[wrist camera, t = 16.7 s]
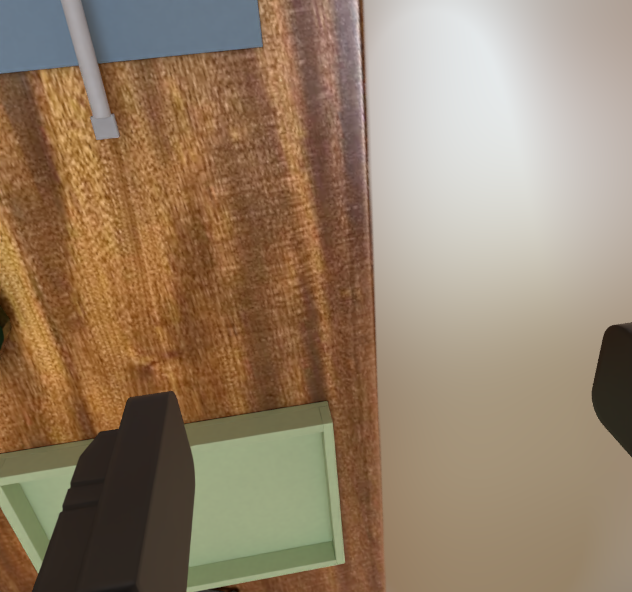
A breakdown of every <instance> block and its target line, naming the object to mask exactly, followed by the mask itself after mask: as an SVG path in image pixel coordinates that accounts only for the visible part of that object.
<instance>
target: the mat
mask: <svg viewBox="0 0 632 592" xmlns="http://www.w3.org/2000/svg"><path fill="white" fill-rule="evenodd" d="M81 2H82V6H83V10H84V13H85V17H86V21H87V25H88V29H89V32H90V36H91V40H92V44H93V48H94V51H95V55H96V59H97V63H98V64H99V63H109V62H119V61H129V60H139V59H148V58H158V57H168V56H178V55H188V54H197V53H207V52H217V51H227V50H237V49H247V48H256V47H263V43H262V34H261V26H260V18H259V9H258V1H257V0H81ZM70 66H79V64H78V60H77V57H76V53H75V50H74V46H73V43H72V39H71V35H70V32H69V28H68V25H67V21H66V18H65V14H64V10H63V7H62V3H61V0H0V74H1V73H11V72H21V71H31V70H40V69H50V68H60V67H70Z"/></svg>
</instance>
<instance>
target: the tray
mask: <svg viewBox="0 0 632 592" xmlns="http://www.w3.org/2000/svg"><path fill="white" fill-rule="evenodd" d="M184 426H185V430H186V433H187V437H188V441H189V444H190V448H191V452H192V456H193V461H194V469H195V497H194V509H193V521H192V532H191V544H190V556H189V568H188V579H187V591H186V592H196V591H201V590H207V589H212V588H217V587H222V586H228V585H233V584H238V583H244V582H249V581H254V580H259V579H265V578H270V577H275V576H280V575H286V574H291V573H296V572H302V571H307V570H312V569H317V568H323V567H328V566H333V565H338V564H343V563H345V557H344V546H343V534H342V523H341V511H340V500H339V488H338V477H337V466H336V454H335V443H334V431H333V422H332V418H331V414H330V410H329V406H328V402H327V401H324V402H318V403H312V404H305V405H299V406H293V407H287V408H281V409H275V410H268V411H262V412H256V413H250V414H244V415H238V416H231V417H225V418H219V419H213V420H207V421H201V422H194V423H188V424H184ZM93 440H94V439H89V440H83V441H77V442H71V443H65V444H59V445H52V446H46V447H40V448H34V449H28V450H22V451H15V452H9V453H3V454H0V507H1V509H2V511H3V513H4V514H5V516H6V518H7V520H8V521H9V523H10V525H11V527H12V528H13V530H14V532H15V534H16V535H17V537H18V539H19V541H20V542H21V544H22V546H23V548H24V549H25V551H26V553H27V555H28V556H29V558H30V560H31V562H32V564H33V565H34V567H35V569H36V571H37V572H38V573H39V570H40V568H41V565H42V562H43V559H44V556H45V553H46V550H47V548H48V545H49V542H50V539H51V536H52V533H53V531H54V528H55V525H56V522H57V519H58V516H59V513H60V512H62V510H63V508H62V505H63V502H64V499H65V496H66V494H67V491H68V489H70V487H71V485H70V482H71V479H72V476H73V474H74V471H75V468H76V465H77V462H78V459H79V456H80V455H81V454H82V453H83V452H84V450H85V449H86V448H87V447H88V446H89V444H90V443H91V442H92V441H93Z"/></svg>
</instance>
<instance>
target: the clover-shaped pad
mask: <svg viewBox="0 0 632 592" xmlns="http://www.w3.org/2000/svg"><path fill="white" fill-rule="evenodd" d="M10 330H11V324H10V319H9V317H8V316H7V314H6V313H5V312H4V310H3V309H2V307H1V306H0V358H1V355H2V352H3V350H4V347H5V344H6V341H7V339H8V336H9V333H10Z"/></svg>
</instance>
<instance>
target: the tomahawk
mask: <svg viewBox="0 0 632 592" xmlns="http://www.w3.org/2000/svg"><path fill="white" fill-rule="evenodd" d="M196 592H224V591H219V590H213V589H207V590H201V591H196ZM231 592H237V591H235V590H232V591H231Z"/></svg>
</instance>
